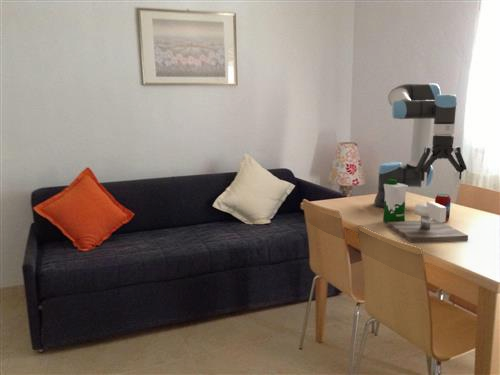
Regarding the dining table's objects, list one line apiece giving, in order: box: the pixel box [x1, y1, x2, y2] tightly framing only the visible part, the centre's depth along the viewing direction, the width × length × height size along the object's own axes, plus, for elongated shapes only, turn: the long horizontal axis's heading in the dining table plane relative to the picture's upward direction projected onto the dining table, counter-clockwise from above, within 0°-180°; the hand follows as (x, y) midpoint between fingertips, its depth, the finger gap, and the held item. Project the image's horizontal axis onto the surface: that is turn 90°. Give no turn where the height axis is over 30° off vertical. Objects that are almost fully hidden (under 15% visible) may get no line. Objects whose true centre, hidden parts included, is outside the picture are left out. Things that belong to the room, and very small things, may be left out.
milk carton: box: [382, 179, 409, 223], centre depth 204 cm, size 9×9×20 cm
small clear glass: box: [420, 216, 432, 230], centre depth 188 cm, size 4×4×6 cm
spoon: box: [414, 200, 447, 223], centre depth 183 cm, size 18×9×6 cm, turn 6°
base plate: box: [386, 219, 469, 244], centre depth 189 cm, size 24×24×2 cm
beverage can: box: [434, 193, 452, 222], centre depth 208 cm, size 7×7×12 cm
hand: (439, 188), depth 176 cm, fingers open, 13 cm apart
